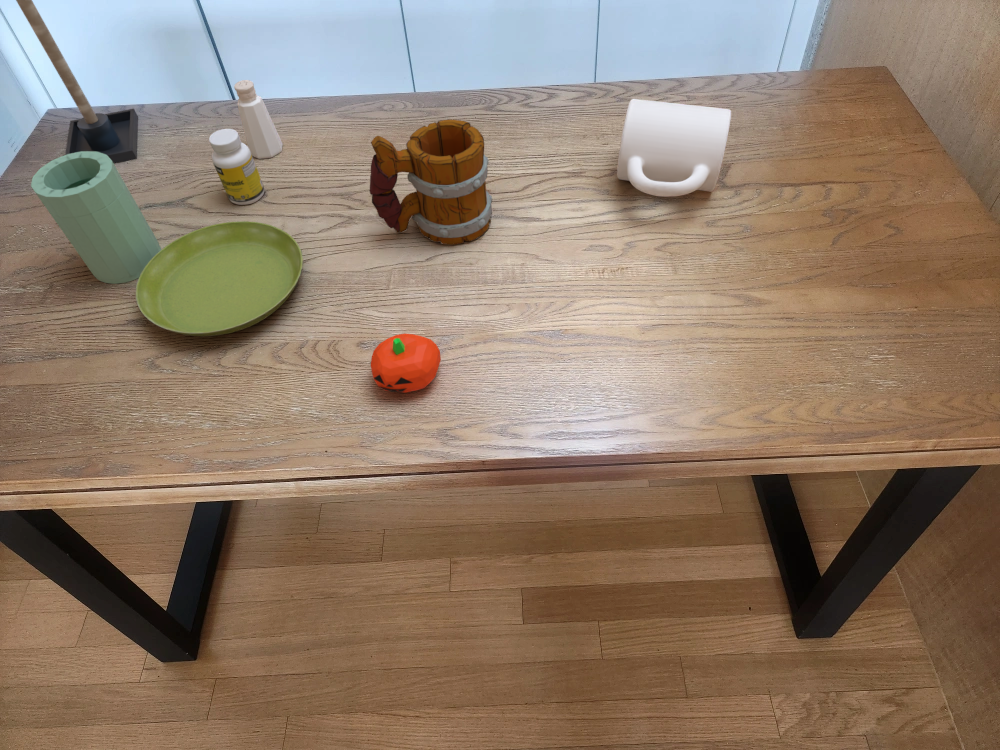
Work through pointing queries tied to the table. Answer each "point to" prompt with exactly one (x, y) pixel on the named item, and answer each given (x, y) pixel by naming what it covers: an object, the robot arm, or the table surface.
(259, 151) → the salt shaker
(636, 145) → the mug
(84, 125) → the wooden handled plunger
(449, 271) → the table surface
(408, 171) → the mug
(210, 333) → the saucer
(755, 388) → the table surface
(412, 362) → the pumpkin
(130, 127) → the tray
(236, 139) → the supplement bottle
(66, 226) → the jar
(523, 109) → the table surface
